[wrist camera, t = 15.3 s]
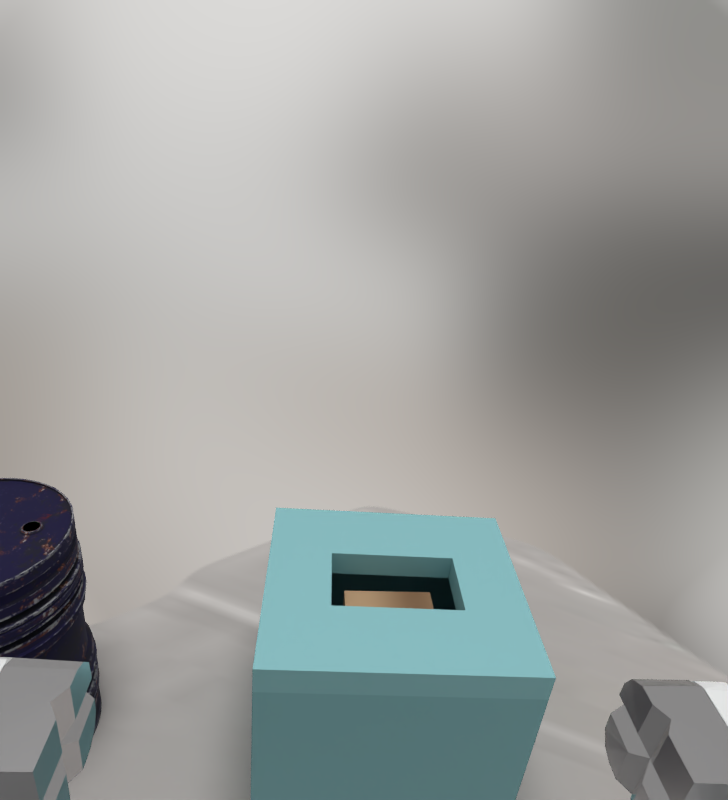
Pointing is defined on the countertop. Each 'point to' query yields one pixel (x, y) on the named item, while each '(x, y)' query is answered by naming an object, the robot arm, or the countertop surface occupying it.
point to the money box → (393, 662)
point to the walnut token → (388, 599)
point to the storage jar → (43, 579)
